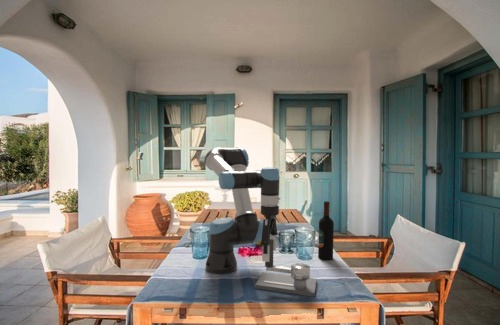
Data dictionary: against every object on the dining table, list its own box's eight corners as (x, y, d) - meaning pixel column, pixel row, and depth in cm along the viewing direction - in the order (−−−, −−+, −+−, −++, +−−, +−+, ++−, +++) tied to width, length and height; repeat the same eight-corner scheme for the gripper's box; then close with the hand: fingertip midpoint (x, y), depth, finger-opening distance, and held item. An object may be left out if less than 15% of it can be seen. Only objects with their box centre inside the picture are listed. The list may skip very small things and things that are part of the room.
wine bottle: (330, 261, 152) (331, 203, 150) (316, 258, 156) (317, 202, 154) (334, 257, 158) (335, 201, 157) (320, 254, 162) (322, 200, 161)
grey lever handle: (262, 277, 120) (262, 243, 119) (267, 267, 130) (268, 236, 129) (308, 283, 114) (309, 248, 114) (310, 272, 125) (311, 240, 124)
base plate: (255, 288, 123) (255, 275, 122) (262, 275, 135) (262, 263, 135) (314, 296, 116) (314, 282, 116) (316, 282, 128) (316, 269, 128)
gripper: (272, 211, 110) (272, 267, 111) (283, 200, 134) (283, 246, 135) (253, 210, 112) (252, 265, 113) (267, 199, 136) (267, 245, 137)
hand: (269, 255), depth 124 cm, fingers open, 13 cm apart
